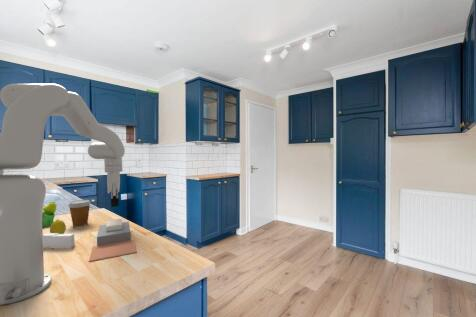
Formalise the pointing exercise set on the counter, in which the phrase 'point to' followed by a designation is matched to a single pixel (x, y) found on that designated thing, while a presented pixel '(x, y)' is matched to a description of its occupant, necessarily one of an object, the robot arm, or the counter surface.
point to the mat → (112, 250)
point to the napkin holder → (58, 240)
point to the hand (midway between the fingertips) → (115, 206)
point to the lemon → (58, 227)
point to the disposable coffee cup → (79, 212)
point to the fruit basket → (48, 214)
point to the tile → (114, 225)
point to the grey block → (113, 235)
